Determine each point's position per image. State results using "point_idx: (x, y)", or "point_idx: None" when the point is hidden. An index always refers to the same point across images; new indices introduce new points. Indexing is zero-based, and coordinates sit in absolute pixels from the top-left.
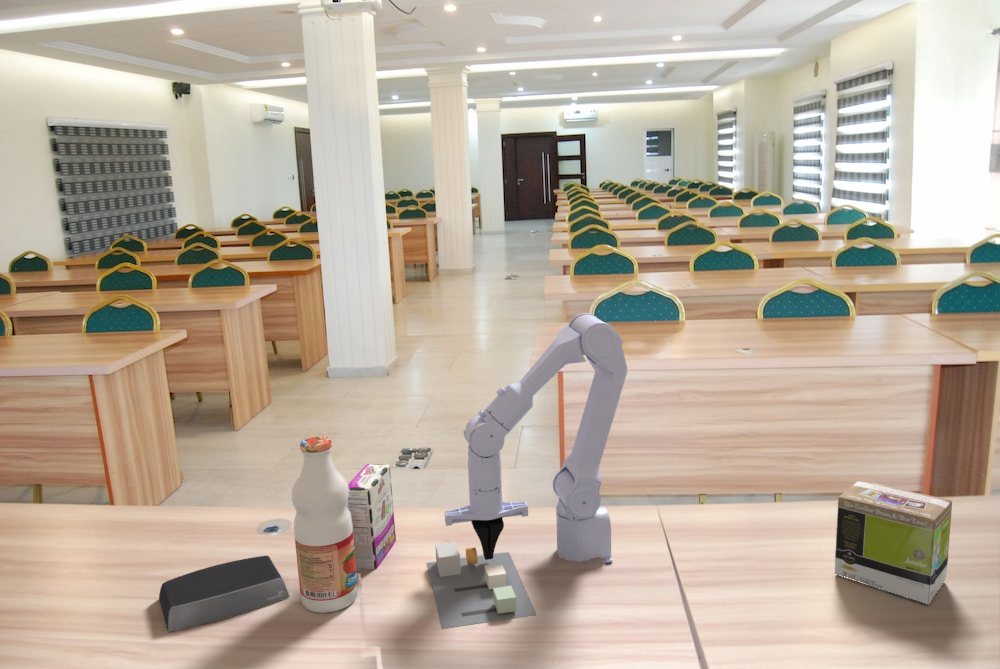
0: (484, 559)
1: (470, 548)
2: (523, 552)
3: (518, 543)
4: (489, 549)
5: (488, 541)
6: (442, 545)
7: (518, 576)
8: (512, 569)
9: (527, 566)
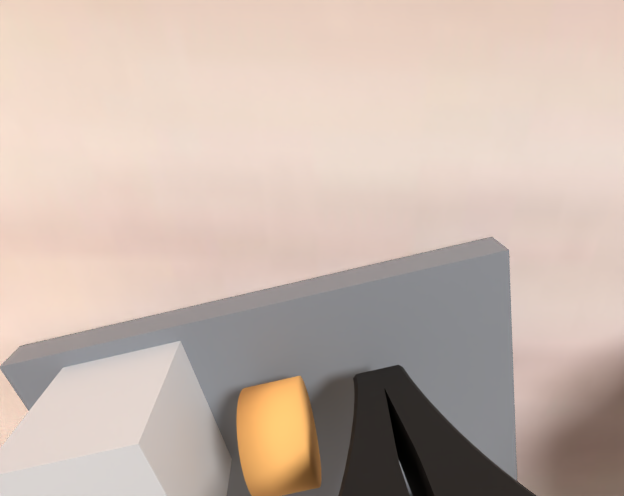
0: (351, 333)
1: (274, 477)
2: (590, 179)
3: (592, 42)
4: (411, 489)
5: (420, 494)
6: (44, 493)
7: (510, 467)
8: (494, 418)
9: (569, 328)
